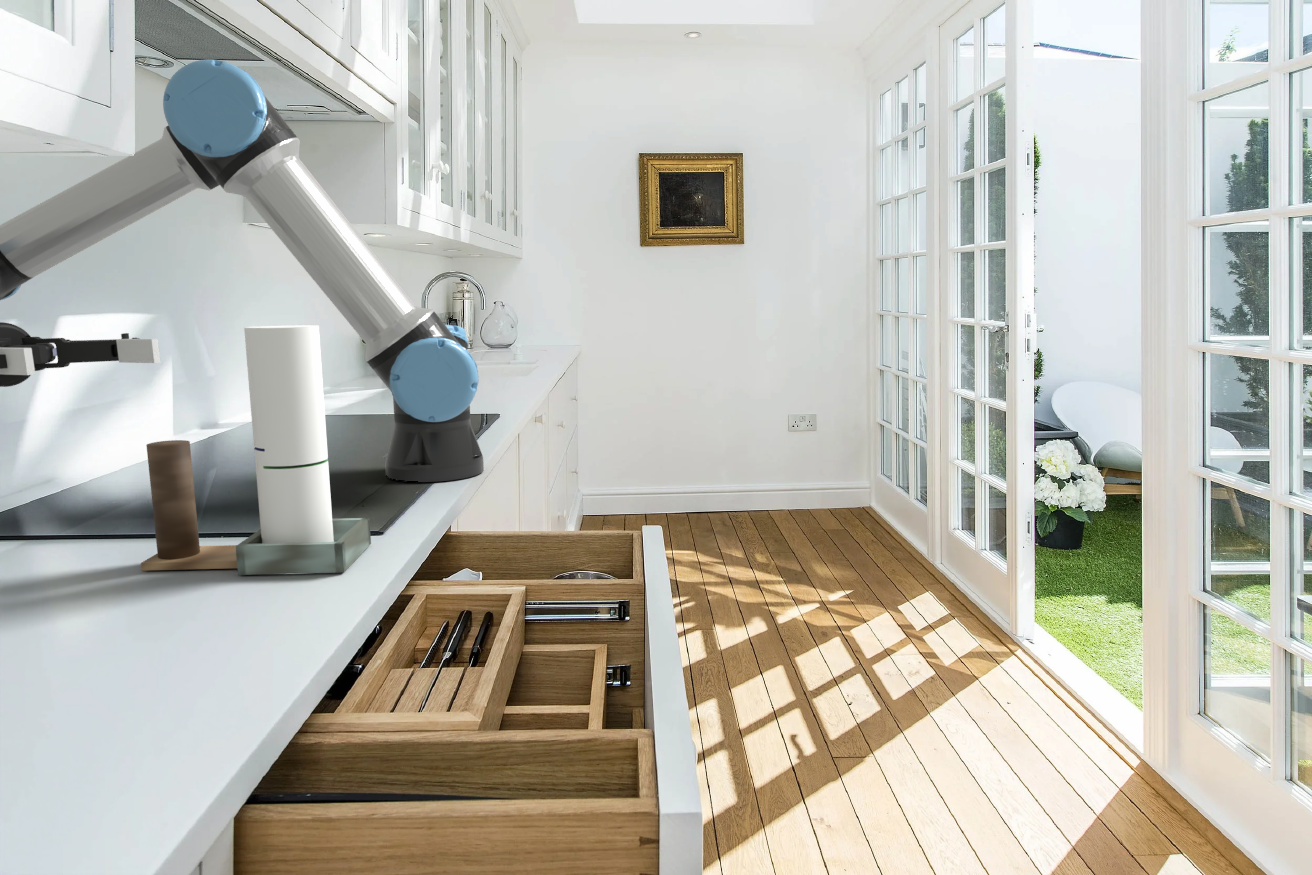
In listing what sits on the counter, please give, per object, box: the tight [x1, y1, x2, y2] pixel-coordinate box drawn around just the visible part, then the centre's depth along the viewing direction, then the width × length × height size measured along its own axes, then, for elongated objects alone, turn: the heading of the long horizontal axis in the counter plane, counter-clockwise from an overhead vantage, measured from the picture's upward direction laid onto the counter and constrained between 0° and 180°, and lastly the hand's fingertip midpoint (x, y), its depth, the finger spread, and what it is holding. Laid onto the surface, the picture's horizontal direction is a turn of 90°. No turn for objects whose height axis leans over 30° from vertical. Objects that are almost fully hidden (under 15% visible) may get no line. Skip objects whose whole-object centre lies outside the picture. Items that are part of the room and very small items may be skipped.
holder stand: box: [140, 439, 372, 576], centre depth 96 cm, size 21×11×13 cm, turn 93°
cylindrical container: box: [243, 324, 334, 544], centre depth 95 cm, size 7×7×25 cm
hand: (96, 355), depth 97 cm, fingers open, 13 cm apart
